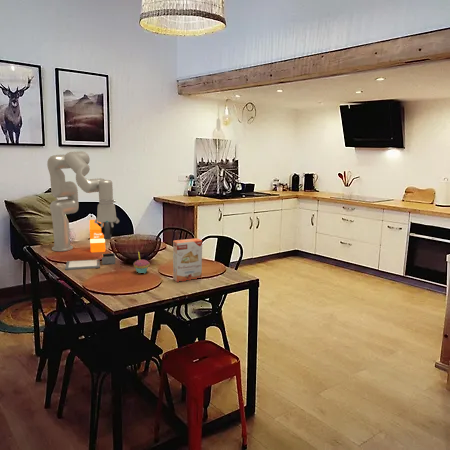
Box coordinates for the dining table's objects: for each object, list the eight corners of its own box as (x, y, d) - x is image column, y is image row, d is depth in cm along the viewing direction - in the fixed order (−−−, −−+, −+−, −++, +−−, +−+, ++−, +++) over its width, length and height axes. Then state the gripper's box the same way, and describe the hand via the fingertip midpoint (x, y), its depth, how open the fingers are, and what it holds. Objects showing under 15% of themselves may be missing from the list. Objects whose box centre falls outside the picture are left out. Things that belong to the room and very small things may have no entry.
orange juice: (91, 249, 279) (89, 218, 275) (105, 248, 281) (104, 218, 277) (90, 252, 271) (89, 221, 267) (105, 251, 274) (103, 220, 269)
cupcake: (130, 273, 233) (130, 252, 230) (139, 269, 241) (139, 248, 238) (144, 275, 230) (144, 254, 227) (152, 271, 238) (152, 250, 235)
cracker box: (177, 282, 220) (176, 242, 216) (172, 279, 225) (172, 240, 221) (202, 279, 227) (202, 240, 222) (197, 275, 232) (197, 237, 227)
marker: (103, 237, 250) (103, 217, 247) (111, 237, 251) (110, 217, 248) (103, 239, 246) (103, 218, 243) (111, 239, 247) (110, 218, 244)
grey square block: (102, 261, 254) (101, 253, 253) (114, 260, 256) (114, 253, 255) (102, 264, 247) (101, 257, 246) (115, 264, 249) (115, 256, 248)
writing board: (67, 262, 250) (67, 260, 250) (99, 260, 255) (99, 259, 255) (65, 270, 237) (65, 268, 237) (99, 267, 242) (99, 266, 241)
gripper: (121, 200, 250) (122, 231, 253) (90, 201, 245) (92, 233, 249) (121, 202, 243) (122, 234, 246) (90, 203, 238) (91, 236, 242)
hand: (107, 233), depth 248 cm, fingers closed on marker, 3 cm apart
